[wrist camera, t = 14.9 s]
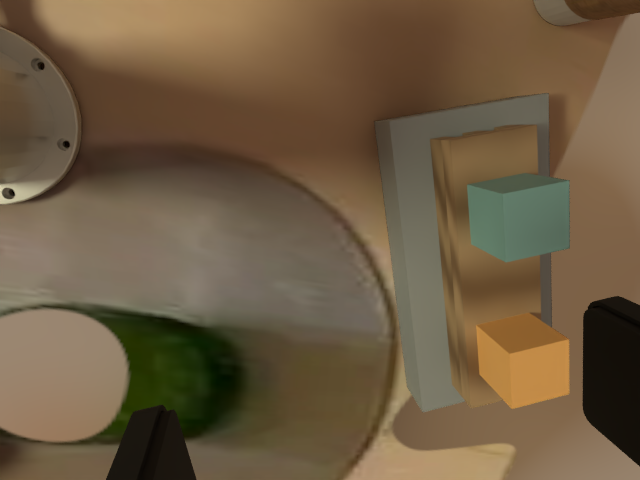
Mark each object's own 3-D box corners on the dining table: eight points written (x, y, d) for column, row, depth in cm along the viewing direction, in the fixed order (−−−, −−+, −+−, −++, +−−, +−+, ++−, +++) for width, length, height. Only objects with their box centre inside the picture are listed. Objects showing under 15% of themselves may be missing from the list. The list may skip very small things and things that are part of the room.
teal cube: (466, 184, 31) (502, 194, 26) (525, 173, 31) (569, 180, 27) (471, 244, 32) (506, 262, 28) (526, 232, 33) (569, 248, 28)
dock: (374, 121, 36) (389, 121, 32) (517, 96, 38) (548, 92, 34) (407, 387, 43) (422, 412, 39) (526, 357, 45) (552, 378, 41)
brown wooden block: (429, 139, 33) (450, 140, 30) (508, 124, 34) (537, 124, 30) (452, 384, 39) (471, 408, 36) (518, 367, 40) (542, 389, 37)
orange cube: (476, 325, 34) (509, 353, 30) (528, 312, 34) (569, 339, 30) (479, 374, 35) (511, 409, 31) (530, 361, 36) (569, 393, 31)
